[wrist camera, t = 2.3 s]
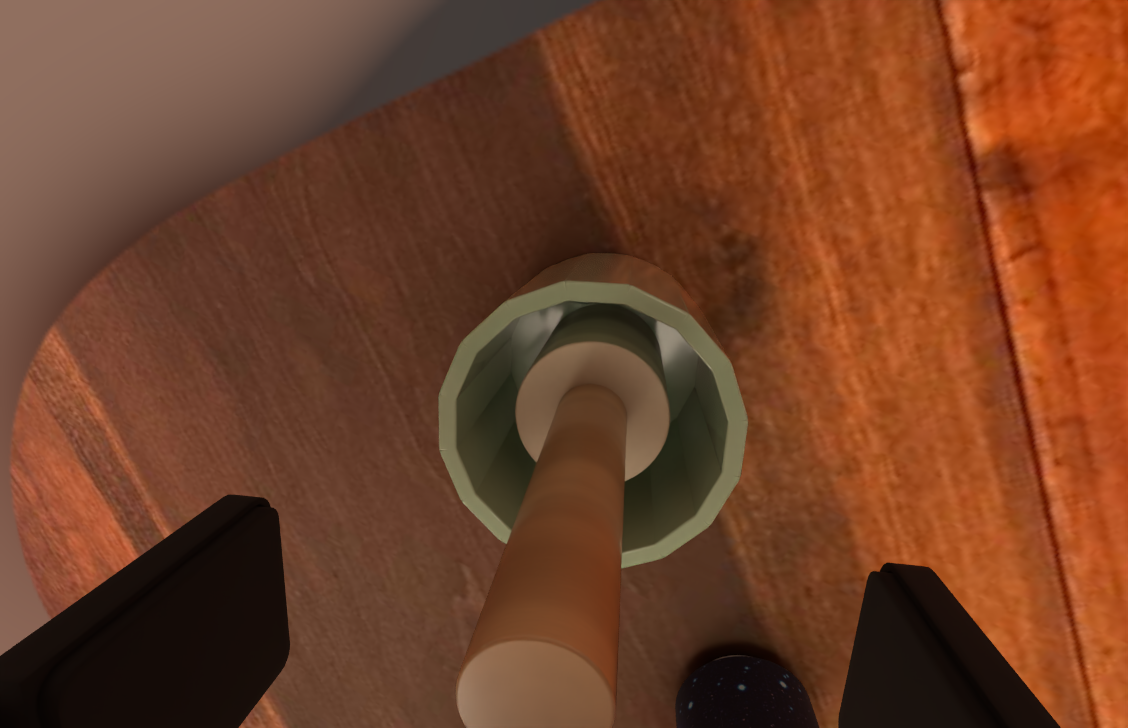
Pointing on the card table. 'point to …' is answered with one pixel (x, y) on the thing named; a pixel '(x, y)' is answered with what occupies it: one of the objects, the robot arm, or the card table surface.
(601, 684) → the bottle brush
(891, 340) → the card table surface
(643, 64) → the card table surface
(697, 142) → the card table surface
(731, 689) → the beverage can
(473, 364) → the brush holder
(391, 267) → the card table surface
